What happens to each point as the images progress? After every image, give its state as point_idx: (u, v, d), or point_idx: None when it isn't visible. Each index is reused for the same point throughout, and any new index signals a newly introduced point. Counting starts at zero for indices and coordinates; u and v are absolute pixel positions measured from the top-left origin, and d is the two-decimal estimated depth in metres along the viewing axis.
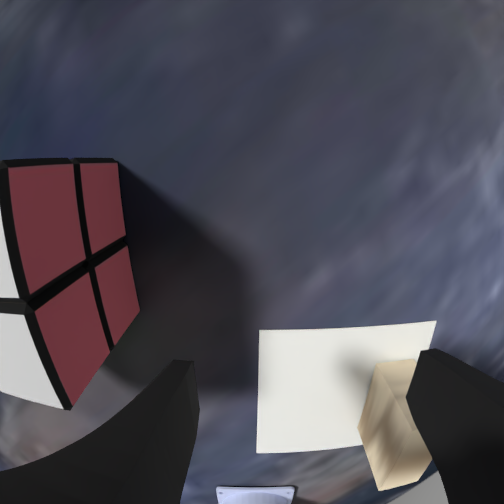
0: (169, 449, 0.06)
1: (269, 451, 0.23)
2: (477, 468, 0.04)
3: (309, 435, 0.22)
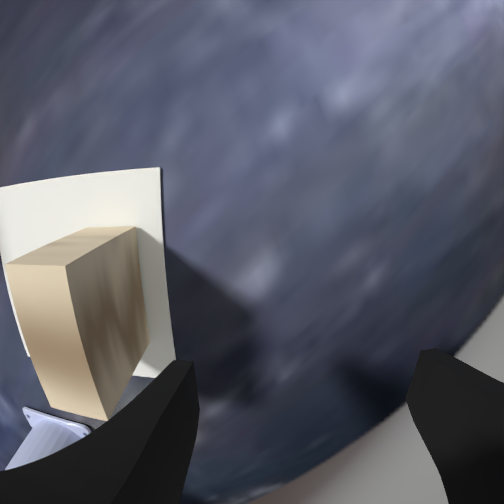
0: (169, 449, 0.06)
1: None
2: (477, 468, 0.04)
3: None
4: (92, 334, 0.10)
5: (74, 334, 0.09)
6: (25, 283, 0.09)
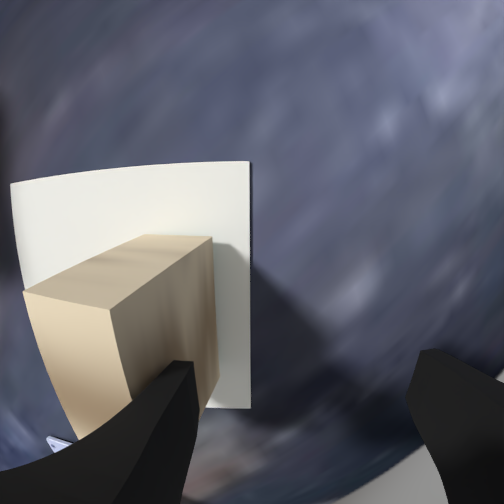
0: (169, 449, 0.06)
1: None
2: (477, 468, 0.04)
3: None
4: None
5: (124, 400, 0.07)
6: (51, 322, 0.06)
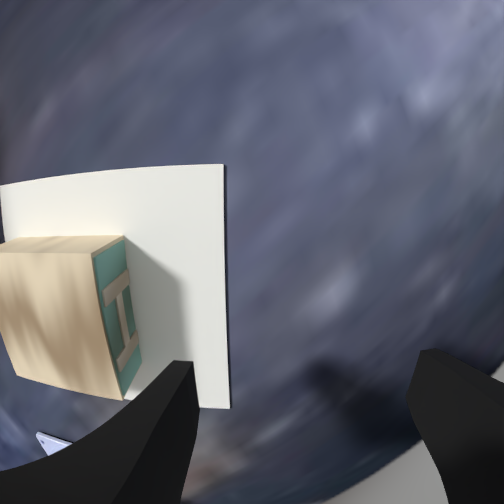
0: (169, 449, 0.06)
1: None
2: (477, 468, 0.04)
3: None
4: (4, 312, 0.11)
5: None
6: None
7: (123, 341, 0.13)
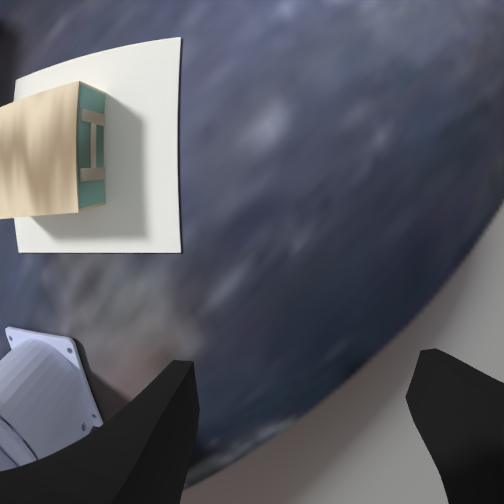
0: (169, 449, 0.06)
1: (28, 249, 0.18)
2: (477, 468, 0.04)
3: (57, 219, 0.17)
4: (0, 153, 0.13)
5: None
6: None
7: (90, 163, 0.14)
